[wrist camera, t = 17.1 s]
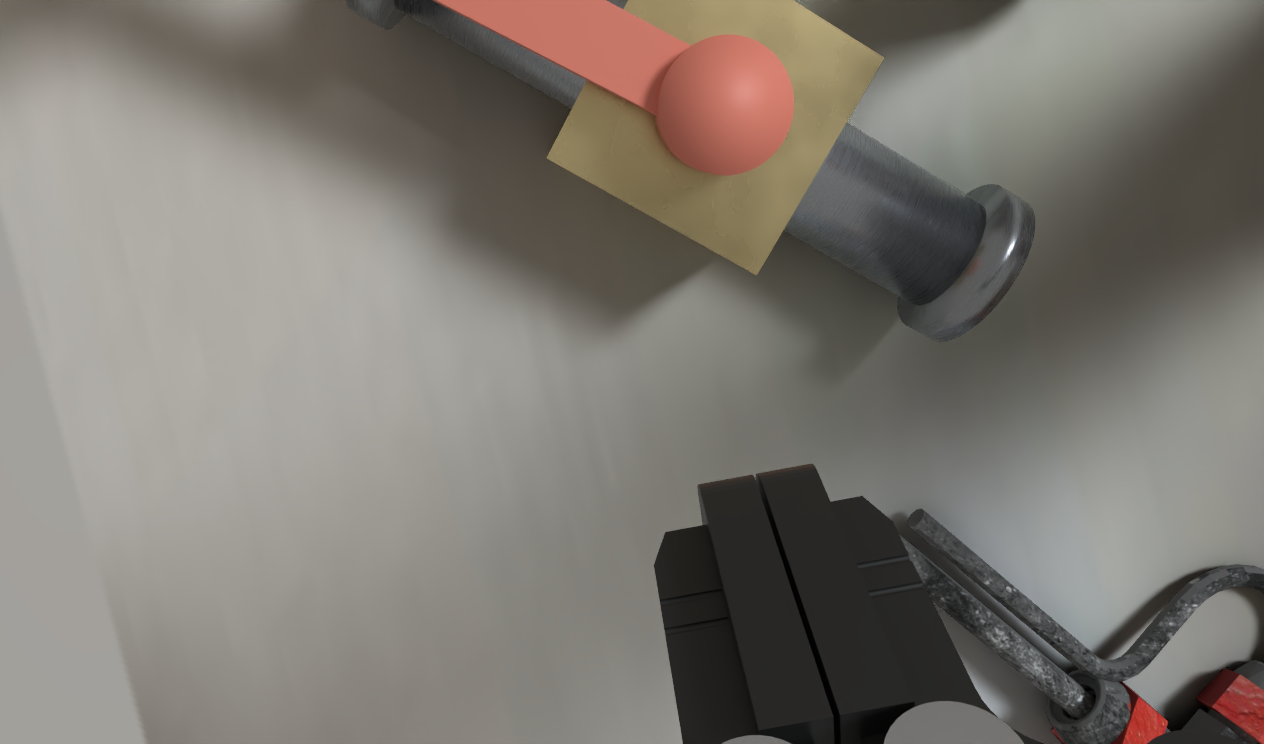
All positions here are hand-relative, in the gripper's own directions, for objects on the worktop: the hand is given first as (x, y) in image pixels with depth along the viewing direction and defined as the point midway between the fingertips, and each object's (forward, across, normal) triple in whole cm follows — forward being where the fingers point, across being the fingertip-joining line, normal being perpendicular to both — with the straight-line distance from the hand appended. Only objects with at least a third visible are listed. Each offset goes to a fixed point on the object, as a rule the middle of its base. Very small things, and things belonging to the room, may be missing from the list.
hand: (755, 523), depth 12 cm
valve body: (+26, -3, +3) cm, 26 cm away
